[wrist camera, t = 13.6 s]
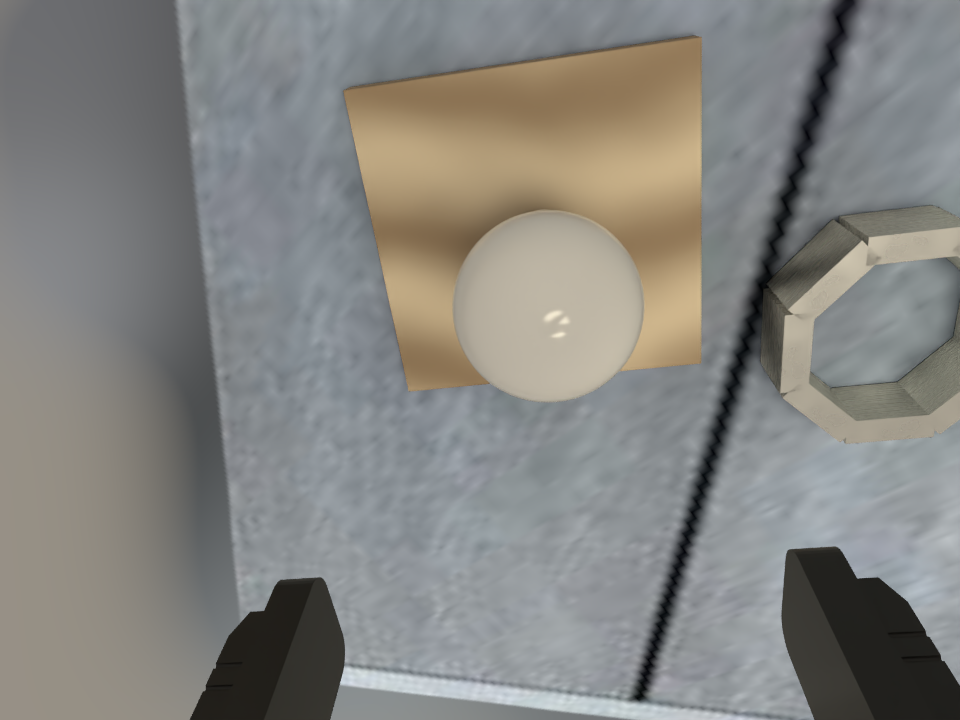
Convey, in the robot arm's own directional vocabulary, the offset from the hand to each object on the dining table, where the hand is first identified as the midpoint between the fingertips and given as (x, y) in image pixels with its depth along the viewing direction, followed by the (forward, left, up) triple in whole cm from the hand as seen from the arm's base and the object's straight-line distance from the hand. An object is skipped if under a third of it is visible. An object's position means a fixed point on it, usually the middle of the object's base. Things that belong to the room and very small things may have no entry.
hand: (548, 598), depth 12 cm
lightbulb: (0, 0, -21) cm, 21 cm away
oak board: (0, 0, -22) cm, 22 cm away
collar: (+6, +15, -22) cm, 27 cm away
